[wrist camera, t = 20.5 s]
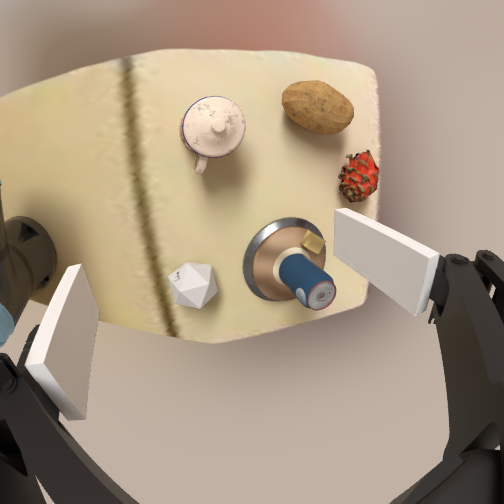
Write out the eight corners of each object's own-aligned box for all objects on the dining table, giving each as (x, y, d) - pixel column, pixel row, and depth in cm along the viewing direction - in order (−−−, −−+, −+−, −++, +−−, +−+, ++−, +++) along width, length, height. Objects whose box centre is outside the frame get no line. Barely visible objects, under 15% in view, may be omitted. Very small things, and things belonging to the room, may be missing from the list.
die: (209, 248, 54) (184, 257, 45) (232, 287, 54) (211, 304, 45) (178, 268, 56) (151, 279, 47) (199, 305, 56) (176, 322, 47)
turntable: (294, 304, 64) (304, 316, 60) (236, 281, 57) (244, 294, 52) (333, 245, 61) (346, 253, 57) (279, 212, 54) (290, 219, 50)
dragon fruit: (330, 198, 60) (346, 150, 58) (365, 212, 58) (381, 164, 57) (333, 191, 51) (351, 137, 50) (374, 208, 50) (390, 153, 48)
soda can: (273, 282, 57) (300, 315, 47) (279, 250, 55) (310, 279, 44) (302, 281, 60) (333, 311, 49) (309, 250, 57) (343, 277, 47)
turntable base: (247, 309, 61) (248, 310, 61) (238, 227, 53) (238, 228, 53) (323, 287, 66) (324, 288, 66) (324, 210, 58) (326, 211, 58)
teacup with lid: (185, 97, 41) (195, 85, 31) (236, 110, 45) (260, 103, 35) (167, 165, 45) (171, 173, 35) (218, 175, 48) (237, 186, 38)
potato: (277, 73, 44) (297, 65, 37) (338, 96, 49) (364, 94, 42) (266, 121, 47) (285, 120, 40) (329, 140, 53) (354, 143, 46)
